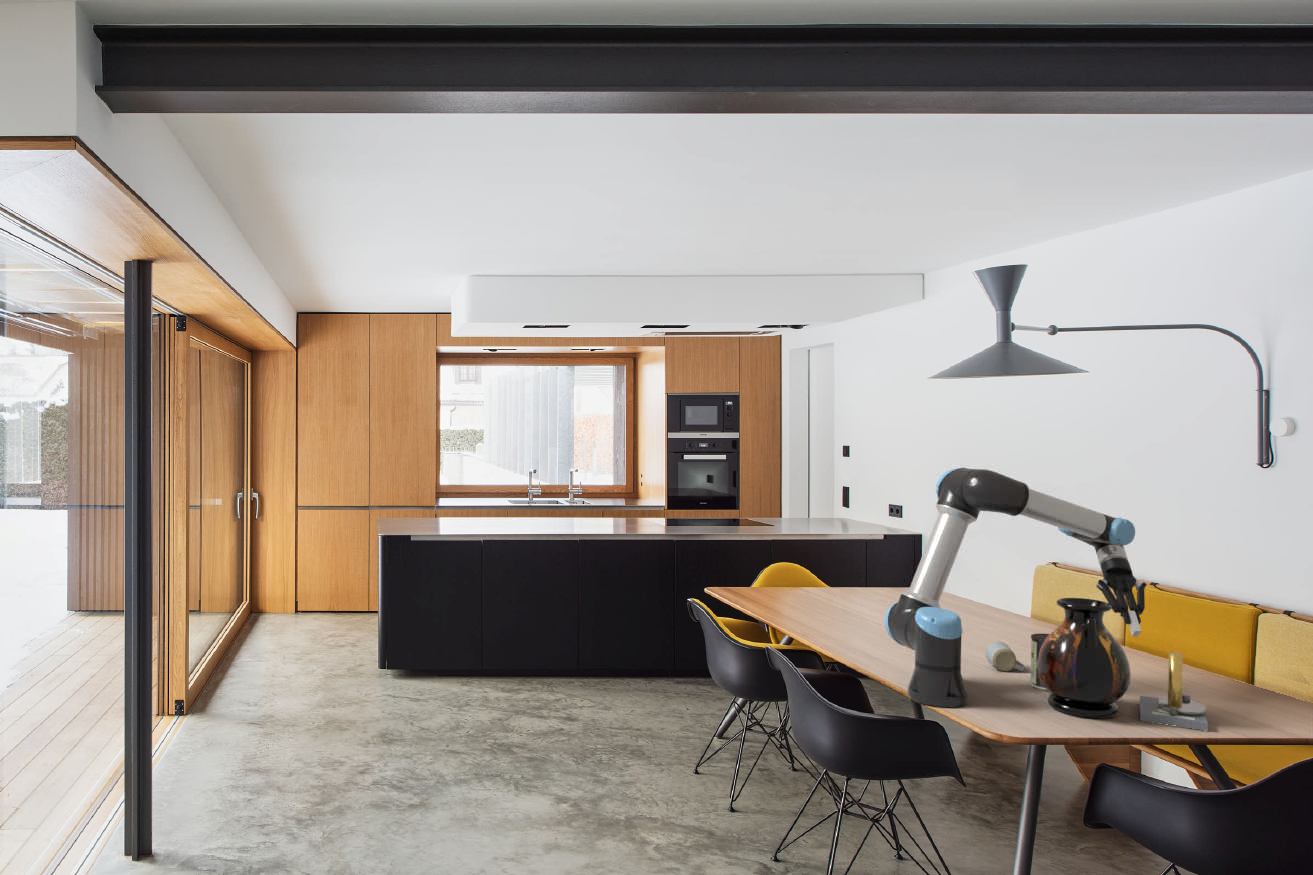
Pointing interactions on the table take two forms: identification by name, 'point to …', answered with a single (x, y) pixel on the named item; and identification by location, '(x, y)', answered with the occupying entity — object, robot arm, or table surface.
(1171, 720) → the grey crank mechanism
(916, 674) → the robot arm
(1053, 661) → the brown glazed vase
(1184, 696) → the lever
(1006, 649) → the ceramic mug
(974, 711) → the table surface
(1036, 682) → the coffee can
